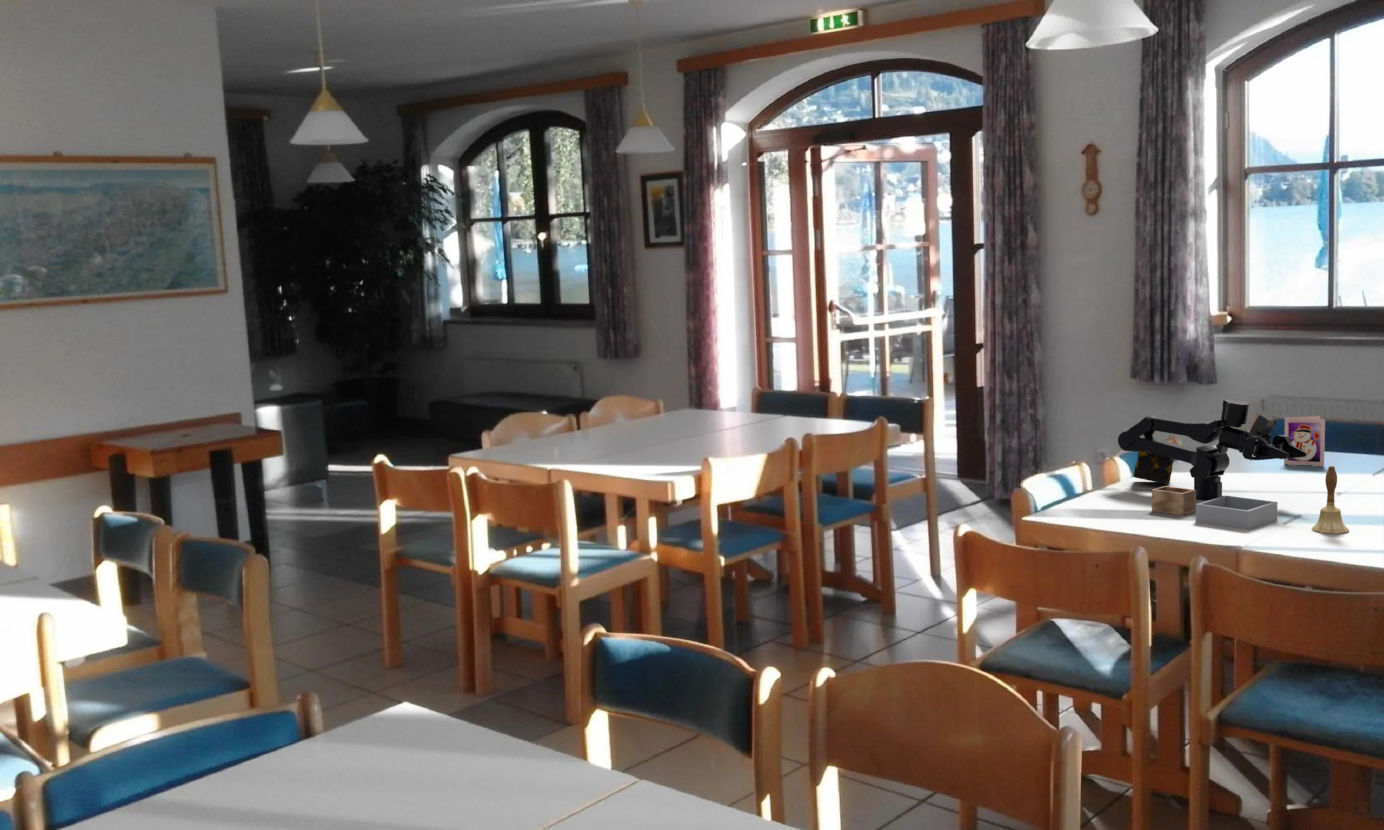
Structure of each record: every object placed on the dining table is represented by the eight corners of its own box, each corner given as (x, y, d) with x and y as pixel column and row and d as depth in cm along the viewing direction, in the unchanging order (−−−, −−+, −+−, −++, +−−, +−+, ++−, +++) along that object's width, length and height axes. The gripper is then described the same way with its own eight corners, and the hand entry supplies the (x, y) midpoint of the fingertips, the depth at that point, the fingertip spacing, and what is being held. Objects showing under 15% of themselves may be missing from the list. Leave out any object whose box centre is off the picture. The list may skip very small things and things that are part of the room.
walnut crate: (1151, 511, 350) (1152, 489, 350) (1164, 507, 355) (1165, 485, 354) (1182, 515, 344) (1183, 493, 343) (1195, 511, 348) (1196, 489, 347)
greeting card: (1283, 465, 409) (1284, 418, 407) (1286, 461, 415) (1287, 414, 414) (1323, 467, 403) (1324, 419, 401) (1326, 463, 409) (1327, 416, 407)
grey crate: (1195, 523, 335) (1195, 504, 335) (1225, 513, 345) (1225, 495, 344) (1248, 530, 325) (1248, 511, 324) (1277, 521, 334) (1277, 502, 334)
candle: (1169, 482, 389) (1176, 449, 388) (1168, 484, 380) (1175, 451, 379) (1134, 475, 393) (1141, 442, 392) (1132, 477, 384) (1139, 444, 383)
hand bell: (1304, 527, 324) (1306, 464, 322) (1336, 526, 325) (1338, 463, 323) (1323, 535, 316) (1325, 470, 314) (1356, 533, 317) (1358, 468, 315)
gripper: (1230, 411, 346) (1285, 425, 334) (1266, 411, 358) (1321, 425, 346) (1221, 452, 348) (1276, 467, 336) (1257, 451, 360) (1312, 465, 348)
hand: (1297, 455), depth 342 cm, fingers open, 9 cm apart
